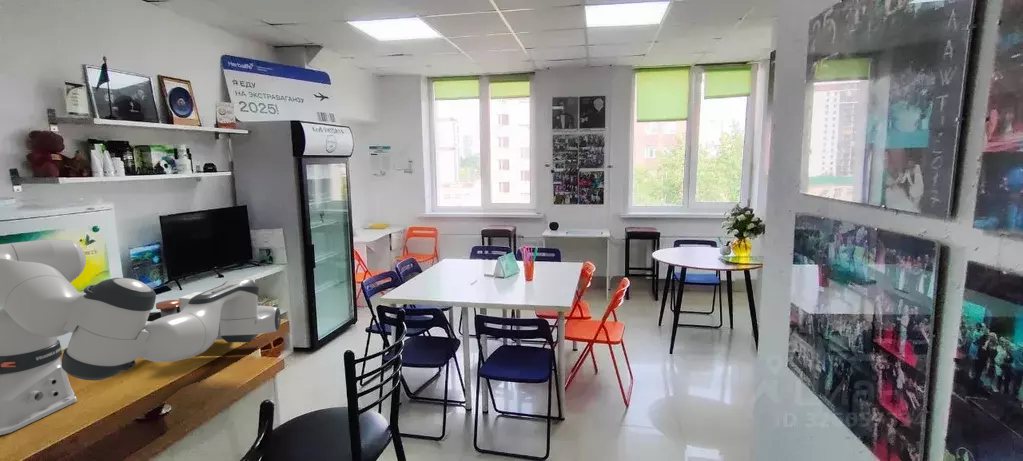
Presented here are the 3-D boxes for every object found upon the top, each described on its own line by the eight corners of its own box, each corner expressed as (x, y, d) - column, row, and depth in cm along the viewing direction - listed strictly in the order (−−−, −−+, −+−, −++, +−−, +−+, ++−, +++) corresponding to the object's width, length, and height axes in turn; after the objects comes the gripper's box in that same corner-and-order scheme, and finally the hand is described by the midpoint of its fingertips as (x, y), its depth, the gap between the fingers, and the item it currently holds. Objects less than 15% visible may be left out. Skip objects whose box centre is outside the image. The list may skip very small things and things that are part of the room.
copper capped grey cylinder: (176, 350, 148) (171, 305, 146) (156, 351, 148) (150, 305, 146) (188, 343, 154) (183, 299, 152) (168, 343, 154) (163, 300, 152)
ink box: (193, 332, 166) (190, 298, 164) (181, 331, 167) (177, 298, 165) (212, 323, 175) (209, 291, 173) (200, 323, 175) (197, 291, 174)
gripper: (208, 342, 141) (159, 344, 140) (243, 320, 161) (200, 321, 161) (206, 321, 140) (156, 323, 140) (242, 301, 160) (198, 303, 160)
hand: (180, 322), depth 150 cm, fingers open, 8 cm apart
